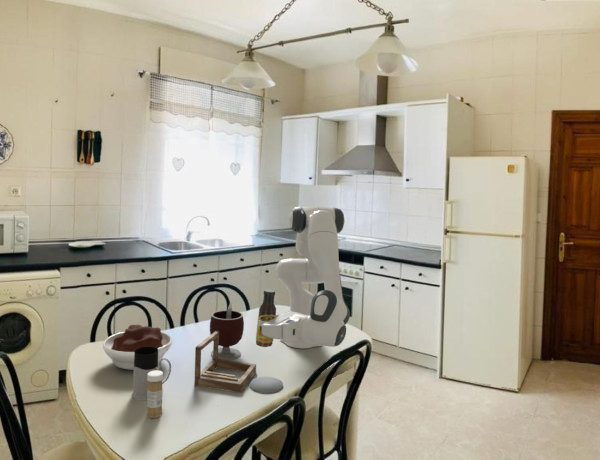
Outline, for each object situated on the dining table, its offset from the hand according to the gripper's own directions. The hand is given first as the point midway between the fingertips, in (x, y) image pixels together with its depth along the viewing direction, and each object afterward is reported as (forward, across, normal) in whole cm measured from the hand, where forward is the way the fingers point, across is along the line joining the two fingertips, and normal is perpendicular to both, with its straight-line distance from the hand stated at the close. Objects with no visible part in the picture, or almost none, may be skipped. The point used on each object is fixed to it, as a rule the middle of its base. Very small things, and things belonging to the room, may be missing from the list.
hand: (264, 319), depth 162 cm
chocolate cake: (+49, +11, +24) cm, 56 cm away
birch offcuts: (+12, +8, +24) cm, 28 cm away
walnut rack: (+13, +3, +24) cm, 28 cm away
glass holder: (+26, +27, +24) cm, 45 cm away
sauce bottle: (-1, 0, +9) cm, 9 cm away
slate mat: (-2, 0, +24) cm, 24 cm away
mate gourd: (+27, -16, +24) cm, 40 cm away
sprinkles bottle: (+16, +36, +24) cm, 46 cm away
